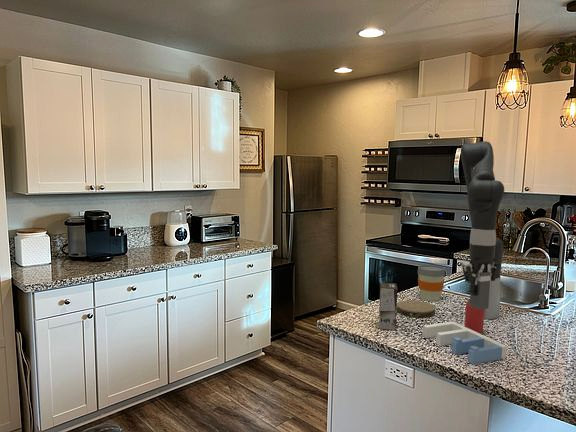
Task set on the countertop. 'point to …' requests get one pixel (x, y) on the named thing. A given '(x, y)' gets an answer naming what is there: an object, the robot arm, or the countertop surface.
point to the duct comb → (466, 342)
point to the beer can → (474, 318)
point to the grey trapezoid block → (481, 292)
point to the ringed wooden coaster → (415, 309)
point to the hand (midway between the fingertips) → (479, 294)
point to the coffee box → (388, 306)
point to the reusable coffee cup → (430, 282)
